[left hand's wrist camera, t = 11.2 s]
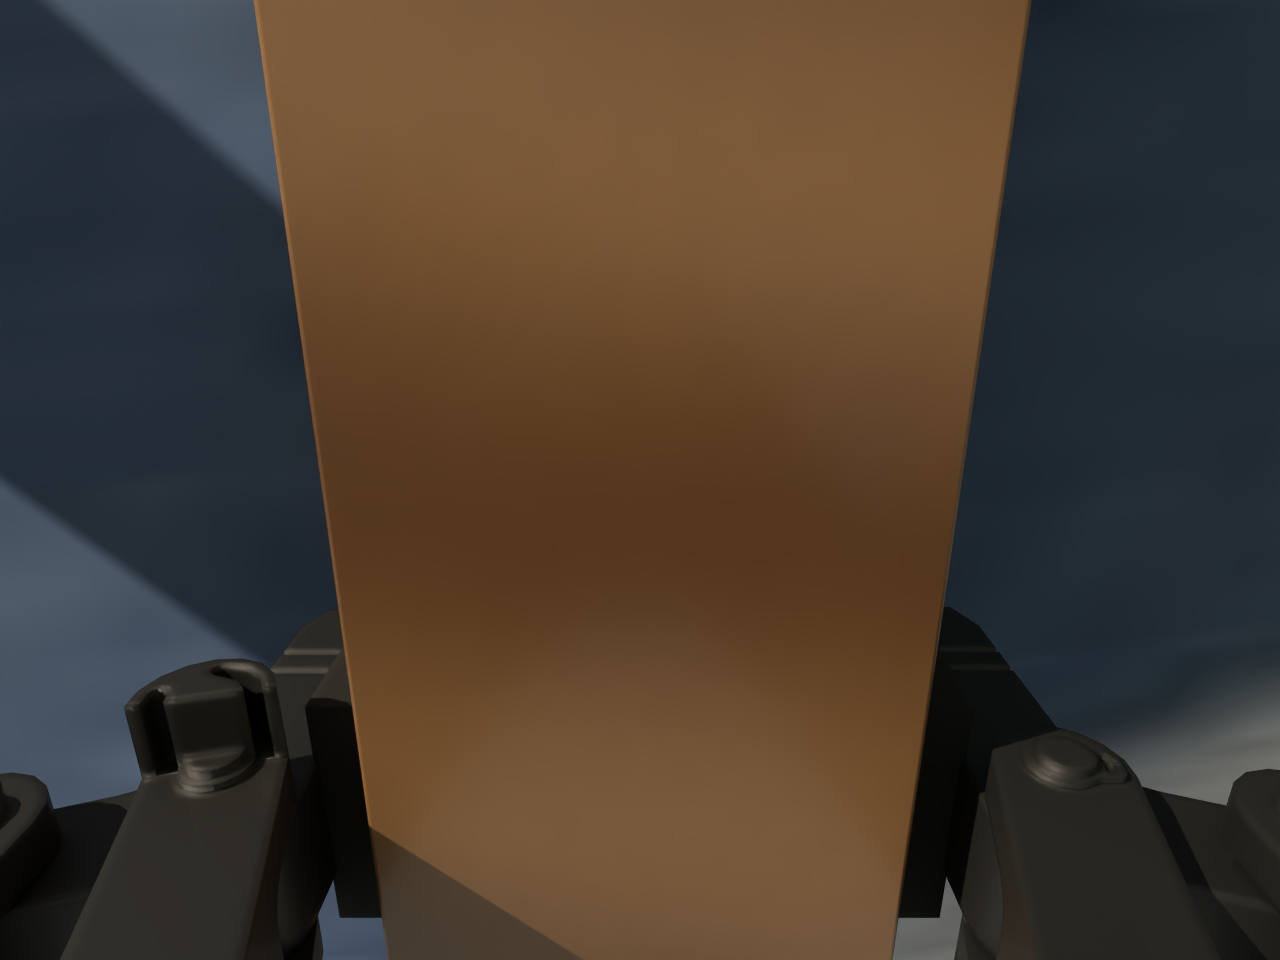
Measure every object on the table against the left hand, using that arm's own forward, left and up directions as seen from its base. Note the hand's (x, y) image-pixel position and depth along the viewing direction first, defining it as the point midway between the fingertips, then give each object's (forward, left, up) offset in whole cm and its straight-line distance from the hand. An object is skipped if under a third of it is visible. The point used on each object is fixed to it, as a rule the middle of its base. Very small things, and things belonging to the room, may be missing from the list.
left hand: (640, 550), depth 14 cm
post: (+3, +28, -1) cm, 28 cm away
